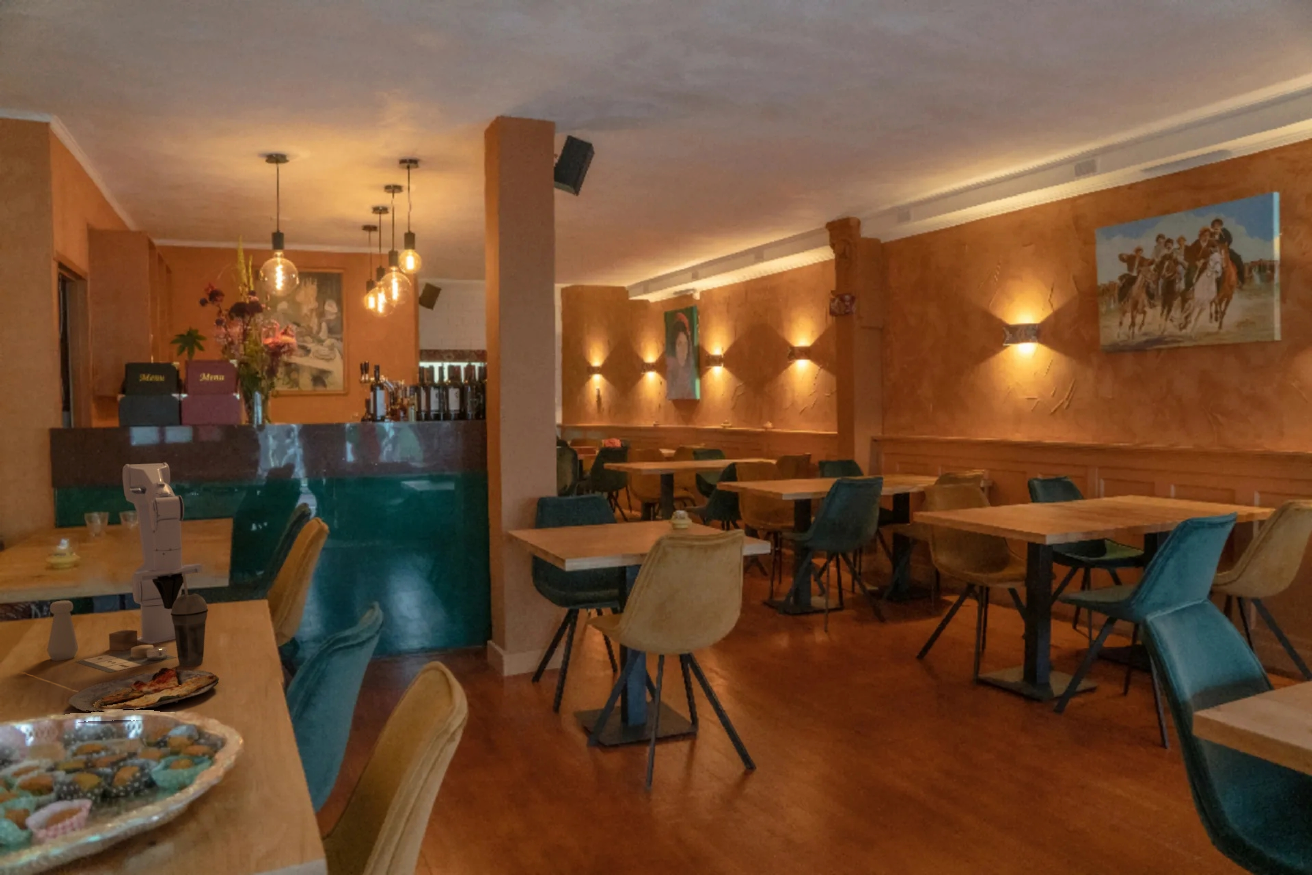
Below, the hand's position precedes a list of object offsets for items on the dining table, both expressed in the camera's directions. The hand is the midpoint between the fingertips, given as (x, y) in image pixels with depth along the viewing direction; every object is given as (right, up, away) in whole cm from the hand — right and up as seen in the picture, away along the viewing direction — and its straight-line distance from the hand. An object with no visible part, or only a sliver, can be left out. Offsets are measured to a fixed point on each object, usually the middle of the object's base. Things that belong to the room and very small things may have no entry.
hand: (169, 608), depth 211 cm
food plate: (+14, -11, -35) cm, 40 cm away
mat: (-5, -10, -8) cm, 14 cm away
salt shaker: (-21, -11, -5) cm, 24 cm away
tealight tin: (+1, -10, -8) cm, 12 cm away
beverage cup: (+11, -10, -12) cm, 19 cm away
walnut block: (-12, -10, +3) cm, 16 cm away
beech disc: (-3, -10, -5) cm, 11 cm away
